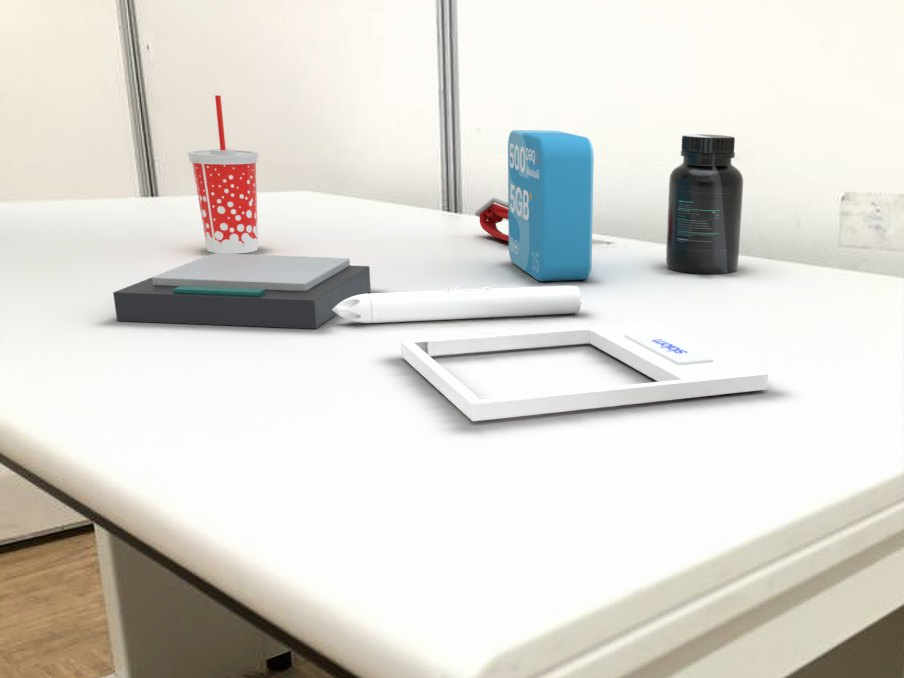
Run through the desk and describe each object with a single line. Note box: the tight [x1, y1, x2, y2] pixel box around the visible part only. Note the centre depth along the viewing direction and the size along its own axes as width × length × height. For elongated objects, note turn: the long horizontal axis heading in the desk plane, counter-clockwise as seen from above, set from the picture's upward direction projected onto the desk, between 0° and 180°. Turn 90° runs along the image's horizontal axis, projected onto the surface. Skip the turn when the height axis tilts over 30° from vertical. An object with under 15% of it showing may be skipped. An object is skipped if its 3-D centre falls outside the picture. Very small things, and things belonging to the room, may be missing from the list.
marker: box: [332, 285, 582, 324], centre depth 80 cm, size 18×2×2 cm, turn 111°
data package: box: [507, 129, 595, 282], centre depth 98 cm, size 12×4×12 cm, turn 20°
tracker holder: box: [474, 197, 509, 243], centre depth 116 cm, size 12×4×10 cm
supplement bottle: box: [665, 133, 744, 275], centre depth 102 cm, size 7×7×12 cm
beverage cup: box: [187, 94, 259, 254], centre depth 103 cm, size 6×6×14 cm
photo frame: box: [399, 321, 769, 422], centre depth 67 cm, size 15×1×18 cm
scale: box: [112, 253, 372, 330], centre depth 83 cm, size 14×14×3 cm
